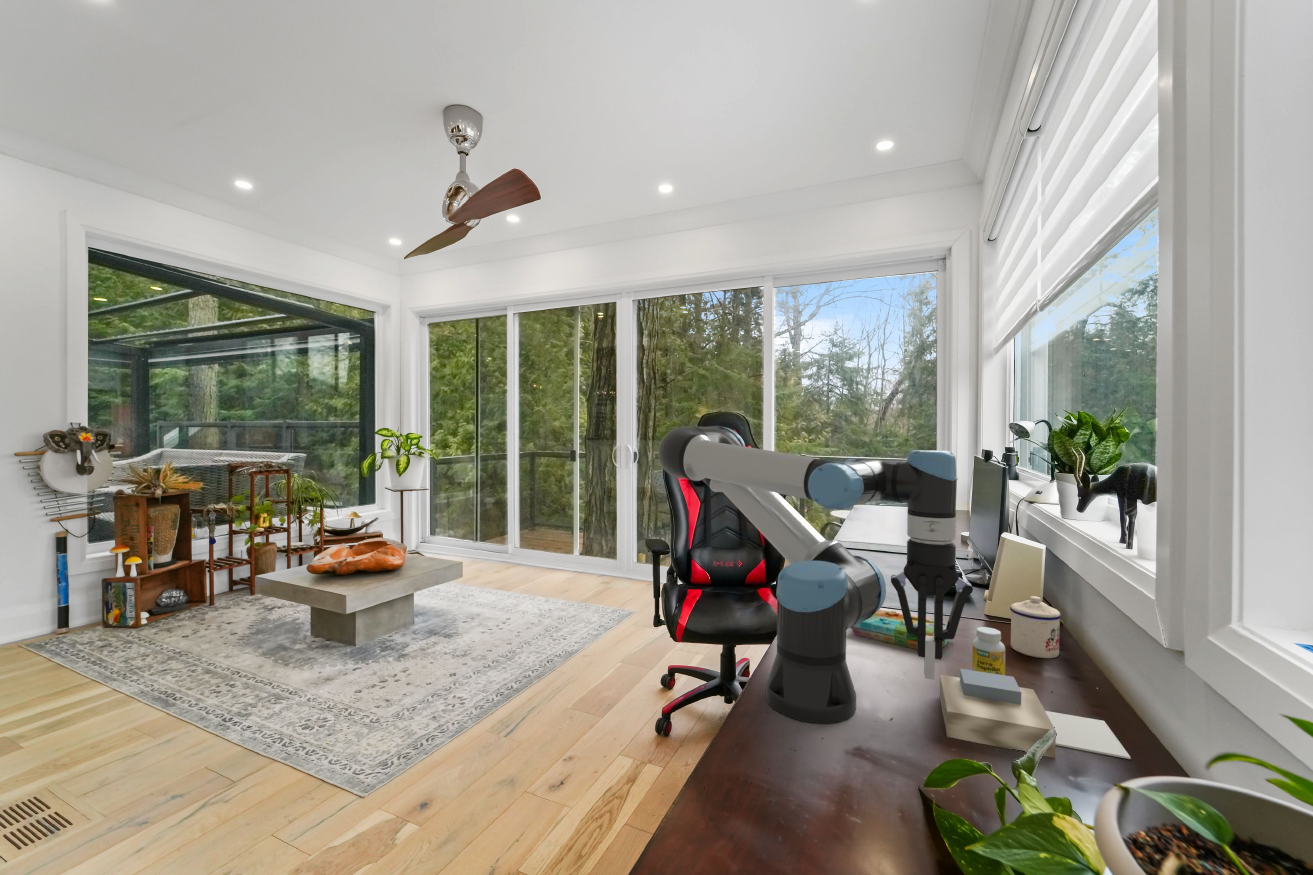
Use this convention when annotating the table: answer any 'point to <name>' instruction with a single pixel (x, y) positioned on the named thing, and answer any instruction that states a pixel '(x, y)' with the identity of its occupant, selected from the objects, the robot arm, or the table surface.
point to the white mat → (1086, 735)
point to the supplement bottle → (988, 651)
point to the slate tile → (990, 686)
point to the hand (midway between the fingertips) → (929, 675)
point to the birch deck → (994, 718)
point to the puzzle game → (892, 629)
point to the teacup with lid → (1035, 628)
